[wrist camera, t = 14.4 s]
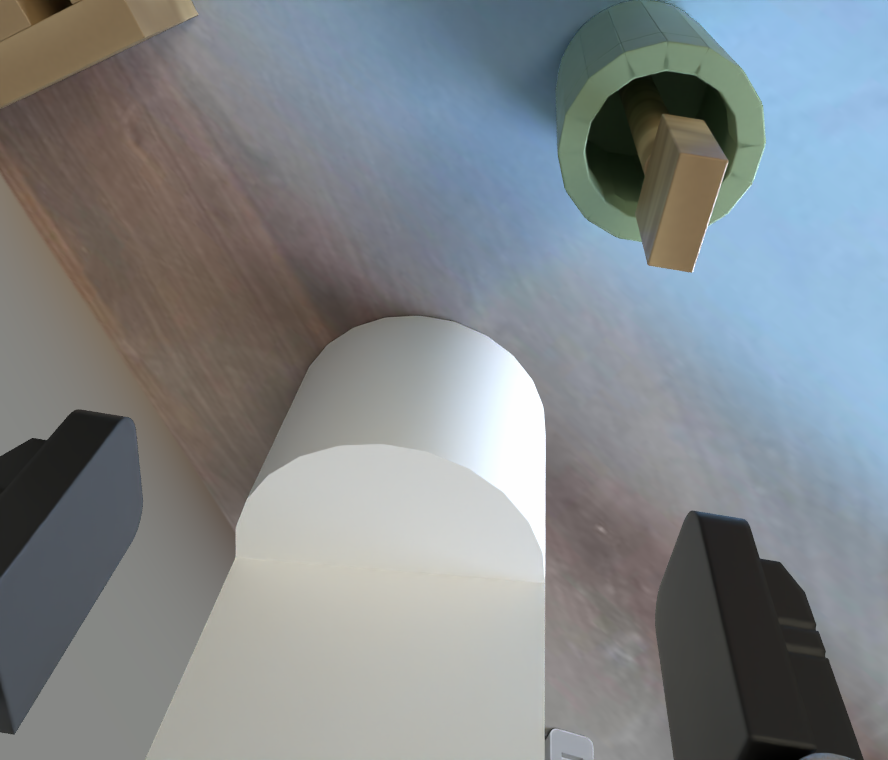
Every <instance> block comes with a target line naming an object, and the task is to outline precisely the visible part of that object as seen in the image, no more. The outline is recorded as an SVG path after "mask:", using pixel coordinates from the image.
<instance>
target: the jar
mask: <svg viewBox="0 0 888 760" xmlns="http://www.w3.org/2000/svg"><path fill="white" fill-rule="evenodd" d="M647 75H651V77H652V79H653V81H654V83H655V85H656V87H657V89H658V91H659V93H660V96H661V98H662V100H663V102H664V104H665V106H666V108H667V110H668V112H669V114H670V115H675V116H681V117H687V118H694V119H700V120H704V122H705V123H706V125H707V126H708V128H709V130H710V131H711V133H712V135H713V136H714V138H715V140H716V141H717V143H718V145H719V146H720V148H721V149H722V151H723V153H724V154H725V156H726V158H727V159H728V165H727V168H726V171H725V174H724V177H723V180H722V184H721V187H720V190H719V193H718V196H717V199H716V202H715V205H714V208H713V211H712V215H711V218H710V221H709V224H708V226H709V225H711V224H712V223H714V222H716V221H717V220H719V219H721V218H722V217H724V216H725V215H726V214H728V213H729V212H730V211H731V209H732V208H733V207H734V206H735V205H736V203H737V202H738V201H739V200H740V198H741V197H742V196H743V195H744V194H745V192H746V191H747V190H748V189H749V187H750V186H751V185H752V182H753V181H754V178H755V175H756V172H757V169H758V166H759V163H760V160H761V157H762V154H763V151H764V148H765V144H766V138H765V125H764V113H763V105H762V102H761V100H760V98H759V97H758V95H757V93H756V91H755V90H754V88H753V86H752V84H751V83H750V81H749V79H748V77H747V76H746V74H745V72H744V71H743V70H742V68H741V67H740V66H739V65H738V64H737V63H736V62H735V61H734V60H733V59H732V58H731V57H730V56H729V55H728V54H727V53H726V51H725V50H724V49H723V48H722V47H721V46H720V45H719V44H718V43H717V42H716V41H715V40H714V39H713V38H712V37H711V36H710V35H709V34H708V33H707V31H706V30H705V29H704V28H703V27H702V26H701V25H700V24H699V23H698V22H697V21H695V20H694V19H692V18H691V17H689V16H688V15H687V14H686V13H684V12H683V11H681V10H679V9H678V8H676V7H675V6H673V5H671V4H666V3H663V2H659V1H654V0H633V1H628V2H623V3H620V4H617V5H614V6H611V7H609V8H607V9H605V10H603V11H601V12H600V13H598V14H597V15H595V16H594V17H592V18H591V19H590V20H589V21H588V22H586V23H585V24H584V25H583V26H582V27H581V28H580V30H579V31H578V32H577V33H576V34H575V36H574V37H573V39H572V40H571V41H570V43H569V45H568V47H567V49H566V50H565V52H564V55H563V57H562V59H561V63H560V67H559V71H558V77H557V84H556V89H555V90H556V120H557V147H558V158H559V163H560V168H561V173H562V178H563V183H564V187H565V189H566V192H567V193H568V195H569V196H570V198H571V199H572V200H573V202H574V203H575V205H576V206H577V207H578V209H579V210H580V212H581V213H582V214H583V216H584V217H585V218H586V219H587V220H588V221H590V222H592V223H593V224H595V225H596V226H598V227H600V228H601V229H603V230H605V231H606V232H608V233H610V234H611V235H613V236H615V237H618V238H620V239H627V240H633V241H639V242H642V240H641V236H640V232H639V228H638V224H637V220H636V216H635V211H636V208H637V204H638V200H639V197H640V193H641V189H642V185H643V182H644V178H645V175H644V172H643V169H642V165H641V162H640V159H639V156H638V153H637V149H636V146H635V143H634V140H633V136H632V133H631V130H630V127H629V124H628V120H627V117H626V114H625V111H624V108H623V104H622V101H621V98H620V95H619V91H618V90H619V89H620V88H622V87H623V86H625V85H626V84H627V83H629V82H630V81H632V80H633V79H635V78H639V77H643V76H647Z"/></svg>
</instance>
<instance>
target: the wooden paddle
mask: <svg viewBox="0 0 888 760" xmlns="http://www.w3.org/2000/svg"><path fill="white" fill-rule="evenodd" d="M618 91H619V95H620V98H621V101H622V104H623V108H624V111H625V114H626V117H627V120H628V124H629V127H630V130H631V133H632V136H633V140H634V143H635V146H636V149H637V153H638V156H639V159H640V162H641V165H642V169H643V172H644V175H645V178H644V182H643V185H642V189H641V193H640V197H639V200H638V204H637V208H636V211H635V216H636V220H637V224H638V228H639V232H640V236H641V240H642V244H643V248H644V252H645V256H646V260H647V264H648V265H649V266H655V267H661V268H667V269H673V270H679V271H685V272H693V270H694V267H695V264H696V261H697V258H698V255H699V252H700V249H701V246H702V242H703V239H704V236H705V233H706V230H707V227H708V224H709V221H710V218H711V215H712V211H713V208H714V205H715V202H716V199H717V196H718V193H719V190H720V187H721V184H722V180H723V177H724V174H725V171H726V168H727V165H728V159H727V158H726V156H725V154H724V153H723V151H722V149H721V148H720V146H719V145H718V143H717V141H716V140H715V138H714V136H713V135H712V133H711V131H710V130H709V128H708V126H707V125H706V123H705V122H704V120H700V119H694V118H687V117H681V116H675V115H670V114H669V112H668V110H667V108H666V106H665V104H664V102H663V100H662V98H661V96H660V93H659V91H658V89H657V87H656V85H655V83H654V81H653V79H652V77H651V75H647V76H643V77H639V78H635V79H633V80H632V81H630V82H629V83H627V84H626V85H625V86H623V87H622V88H620V89H619V90H618Z"/></svg>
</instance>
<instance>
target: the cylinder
mask: <svg viewBox="0 0 888 760" xmlns="http://www.w3.org/2000/svg"><path fill="white" fill-rule="evenodd" d="M145 760H545V422H544V408H543V405H542V402H541V400H540V397H539V395H538V392H537V390H536V388H535V385H534V383H533V380H532V379H531V378H530V376H529V375H528V374H527V372H526V371H525V370H524V369H523V367H522V366H521V365H520V364H519V362H518V361H517V360H516V359H515V357H514V356H513V355H512V354H510V353H509V352H508V351H506V350H505V349H504V348H502V347H501V346H500V345H499V344H497V343H496V342H495V341H493V340H492V339H491V338H489V337H488V336H487V335H484V334H482V333H480V332H477V331H475V330H473V329H470V328H468V327H466V326H463V325H461V324H459V323H456V322H454V321H448V320H442V319H437V318H431V317H425V316H420V315H419V316H402V317H386V318H382V319H379V320H376V321H372V322H369V323H366V324H363V325H360V326H357V327H354V328H352V329H350V330H349V331H347V332H346V333H344V334H343V335H341V336H340V337H338V338H337V339H335V340H334V341H332V342H331V343H329V344H328V345H327V346H326V347H325V348H324V349H323V351H322V352H321V353H320V354H319V355H318V357H317V358H316V359H315V360H314V361H313V363H312V364H311V365H310V366H309V368H308V370H307V373H306V375H305V377H304V379H303V381H302V383H301V385H300V387H299V390H298V392H297V394H296V396H295V398H294V400H293V402H292V404H291V407H290V409H289V411H288V413H287V415H286V417H285V419H284V421H283V424H282V426H281V428H280V430H279V432H278V434H277V436H276V438H275V441H274V443H273V445H272V447H271V449H270V451H269V453H268V455H267V457H266V460H265V462H264V464H263V466H262V468H261V470H260V472H259V474H258V477H257V479H256V481H255V483H254V485H253V487H252V489H251V491H250V494H249V496H248V498H247V500H246V503H245V505H244V508H243V510H242V513H241V516H240V518H239V521H238V523H237V526H236V558H235V560H234V562H233V565H232V567H231V569H230V571H229V573H228V576H227V578H226V580H225V582H224V584H223V587H222V589H221V591H220V594H219V596H218V598H217V600H216V602H215V605H214V607H213V609H212V612H211V614H210V616H209V618H208V620H207V622H206V625H205V627H204V629H203V631H202V634H201V636H200V638H199V640H198V642H197V645H196V647H195V650H194V651H193V654H192V656H191V658H190V660H189V663H188V665H187V667H186V669H185V672H184V674H183V676H182V679H181V681H180V683H179V685H178V687H177V690H176V692H175V694H174V696H173V698H172V701H171V703H170V705H169V708H168V709H167V712H166V714H165V716H164V718H163V721H162V723H161V725H160V727H159V730H158V732H157V734H156V736H155V739H154V741H153V743H152V745H151V747H150V750H149V752H148V754H147V757H146V759H145Z"/></svg>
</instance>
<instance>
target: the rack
mask: <svg viewBox="0 0 888 760" xmlns="http://www.w3.org/2000/svg"><path fill="white" fill-rule="evenodd" d="M197 15H198V13H197V11H196V9H195V7H194V5H193V3H192V1H191V0H0V109H1V108H3V107H6V106H8V105H10V104H12V103H15V102H17V101H19V100H21V99H23V98H25V97H28V96H30V95H32V94H34V93H36V92H38V91H40V90H42V89H44V88H46V87H48V86H51V85H53V84H55V83H57V82H59V81H61V80H63V79H65V78H67V77H69V76H72V75H74V74H76V73H78V72H80V71H82V70H84V69H86V68H88V67H90V66H92V65H95V64H97V63H99V62H101V61H103V60H105V59H107V58H109V57H111V56H113V55H115V54H118V53H120V52H122V51H124V50H126V49H128V48H130V47H132V46H134V45H136V44H138V43H141V42H143V41H145V40H147V39H149V38H151V37H153V36H155V35H157V34H159V33H161V32H164V31H166V30H168V29H170V28H172V27H174V26H176V25H178V24H180V23H182V22H185V21H187V20H189V19H191V18H193V17H195V16H197Z"/></svg>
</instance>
